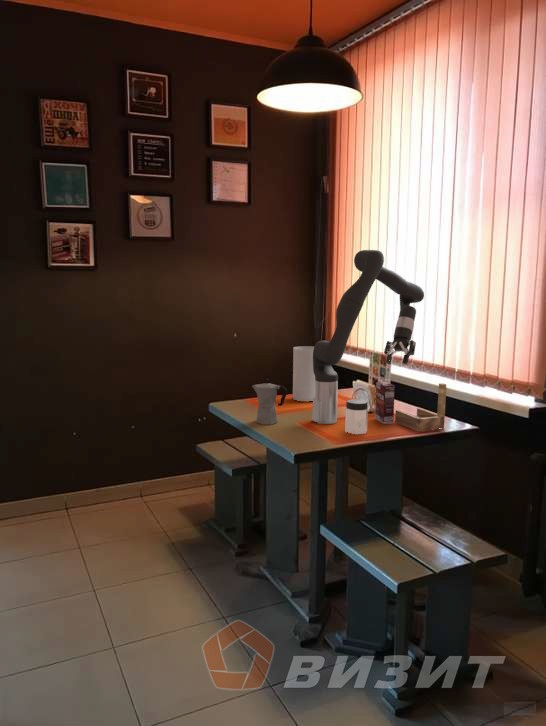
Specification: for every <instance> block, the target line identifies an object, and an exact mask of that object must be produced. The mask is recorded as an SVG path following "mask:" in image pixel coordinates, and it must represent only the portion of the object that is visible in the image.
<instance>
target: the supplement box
mask: <svg viewBox="0 0 546 726" xmlns="http://www.w3.org/2000/svg"><path fill="white" fill-rule="evenodd" d="M395 388H396V386H395V384H392V383H390V382H387V381H376V383H375V412H374V414H375V415H374V418H375V420H377V421H379V422H380V423H382V424H383V425H386V424H388V425H389V424H394V420H395V419H394V415H395V414H394V413H395V412H394V410H395V391H396V389H395Z"/></svg>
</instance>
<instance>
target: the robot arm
mask: <svg viewBox="0 0 546 726" xmlns="http://www.w3.org/2000/svg"><path fill="white" fill-rule="evenodd" d="M353 263H354V267H355V268H356V270H357V271H359V272H361V274H360V276H359V277H358V279H357V280H356V281H355V282H354V283H353V284H352V285H351V286H350V287H349V288H348V289H347V290H345V291H344V293H343V294H342V296H341V298H340V300H339V303H338V305H337V307H336V311H335V324H336V325H335V330H334V331H333V332H334V333H333V334H332V337H331V339H330V340H319V341H317V342H316V343H315V345H314V346H313V347H314V350H313V372H314V375H315V398H313V402H312V416H311V417H312V421H313V422H315V423H316V422H317V423H316V424H319V425H331V424H332V425H333V424H335V423H337V421H338V391H339V390H338V387H339V385H338V384H339V383H338V382H339V381H338V380H339V375H338V373H337V372H336V371H335V370H334V368H333V366H335V365H336V364H338V363H339V362H340V361H341V360H342V359H343V358H342V357H343V356H344V353H345V349H346V347H347V345H348V341H349V338H350V335H351V333H352V330H353V328H354V326H355V323H356V321H357V319H358V317H359V315H360V313H361V310H362V308H363V306H364V303H365V301H366V299H367V297H368V295H369V293H370V291H371V289H372V286H373V285H374V283H375V281H376V280H377V281H378V282H380V283H382V284H383V285H384V286H386V288H388V289H390V290H391V291H392V292H394V293H395V294H397V295H399V315H398V318H397V321H396V324H395V328H394V333H393V340H392V341H390V340H388V341H386V344H385V347H384V351H383V354H385V355H386V358H385V359H386V360H385V362H386V364H387V365H391V364H392V359H393V356H394V354H396V353H398V352H401V353H402V352H403V353H404V354H403V359H402V364H404V365H407V364H408V363H409V359H410V357H411V356H413V355H415V351H416V341H414V340H412V335H413V331H414V326H415V319H416V315H417V309H416V308H415V307H414V306H411V304H415V303H420V302H422V301H423V300H424V298H425V292H424V290H423V287H420V286H419V285H417V284H416V283H414V282H411V281H409V280H406V279H405V278H404V277H403V276H401V275H400V274H399V273H397V272H395V271H393V270H391V269H388V268H387V267H384V263H385V255H384V253H383V252H382V251H380V250H377V249H363V250H360V251H357V253H355V256H354V259H353ZM408 347H409V348H408ZM389 360H390V361H389Z"/></svg>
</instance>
